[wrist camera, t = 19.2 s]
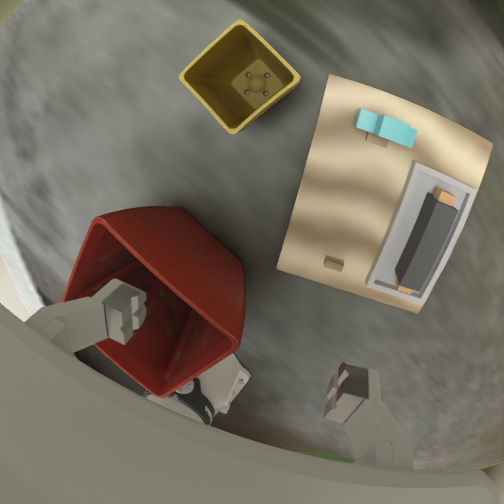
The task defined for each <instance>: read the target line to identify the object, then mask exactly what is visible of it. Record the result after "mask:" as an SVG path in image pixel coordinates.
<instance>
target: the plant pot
mask: <svg viewBox="0 0 504 504" xmlns="http://www.w3.org/2000/svg"><path fill="white" fill-rule="evenodd" d="M112 279H118V280H120V281H122V282H124V283H127V284H129V285H131V286H133V287H135V288H138V289H140V290H142V291H144V292H145V293H146V301H145V302H144V305H145V307H146V317H145V319H144V321H143V324H142V325H141V326H140V327H139V329H135V330H133V336H132V337H131V338H130V339H129V341H128V342H127V343H126V344H125V345H124V344H121V343H119V342H117V341H115V340H113V339H111V338H109V337H108V338H107V339H104V340H102V341H100V342H97V343H95V344H94V345H95V346H96V347H97V348H98V349H99V350H101V351H102V352H103V353H104V354H105V355H106V356H107V357H108V358H109V359H111V360H112V361H113V362H114V363H115V364H116V365H117V366H118V367H120V368H121V369H122V370H123V371H124V372H126V373H127V374H128V375H129V376H130V377H132V378H133V379H134V380H135V381H136V382H138V383H139V384H140V385H141V386H143V387H144V388H145V389H147V390H148V391H149V392H150V393H152V394H153V395H155V396H156V397H159V398H165V397H166V396H168V395H169V394H171V393H173V392H174V391H176V390H177V389H179V388H180V387H182V386H183V385H185V384H186V383H188V382H189V381H191V380H192V379H194V378H196V377H197V376H199V375H200V374H202V373H203V372H205V371H206V370H208V369H209V368H211V367H213V366H214V365H216V364H217V363H219V362H220V361H222V360H223V359H225V358H226V357H228V356H229V355H231V354H232V353H234V352H235V351H237V350H238V348H239V345H240V341H241V337H242V332H243V326H244V318H245V305H246V289H245V278H244V271H243V267H242V263H241V261H240V260H239V259H238V258H237V257H236V256H235V255H233V254H232V253H231V252H230V251H229V250H228V249H227V248H226V247H225V246H223V245H222V244H221V243H220V242H219V241H218V240H217V239H216V238H214V237H213V236H212V235H211V234H210V233H209V232H208V231H207V230H206V229H205V228H203V227H202V226H201V225H200V224H199V223H198V222H197V221H196V220H195V219H193V218H192V217H191V216H190V215H189V214H188V213H187V212H186V211H185V210H183V209H181V208H176V207H166V206H147V207H137V208H130V209H125V210H120V211H115V212H111V213H107V214H104V215H101V216H98V217H95V218H94V219H93V220H92V222H91V225H90V227H89V229H88V232H87V234H86V237H85V239H84V241H83V244H82V246H81V249H80V251H79V254H78V256H77V259H76V262H75V265H74V267H73V270H72V273H71V276H70V278H69V281H68V284H67V287H66V290H65V292H64V295H63V298H62V301H61V303H63V302H67V301H71V300H76V299H80V298H84V297H90V298H91V297H93V296H94V295H95V294H96V293H97V292H98V291H99V290H101V289H102V288H103V287H104V286H105V285H106V284H107V283H109V282H110V281H111V280H112Z"/></svg>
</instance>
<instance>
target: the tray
mask: <svg viewBox="0 0 504 504" xmlns="http://www.w3.org/2000/svg"><path fill="white" fill-rule="evenodd" d="M436 186H437V187H439V188H441V189H443V190H446V191H448V192H450V193H451V194H452V195H454V196H455V197H456V198H455V200H454V203H453V206H454V207H455V208H456V209H457V210H458V213H457V216H456V218H455V220H454V223H453V225H452V227H451V230H450V232H449V234H448V237H447V239H446V241H445V243H444V245H443V247H442V249H441V252H440V254H439V256H438V258H437V260H436V262H435V264H434V266H433V268H432V270H431V272H430V274H429V276H428V278H427V279H426V281H425V283H424V285H423V287H422V289H421V291H420V292H417V291H414V290H413V291H412V293H411V294H408V293H405V292H402V291H398V290H397V287H396V283H395V281H396V279H397V276H396V273H395V267H396V265H397V263H398V261H399V259H400V257H401V254H402V252H403V250H404V248H405V245H406V243H407V241H408V239H409V236H410V234H411V232H412V229H413V227H414V224H415V222H416V220H417V217H418V215H419V212H420V210H421V207H422V205H423V202H424V199H425V197H426V194H427V192H428V193H431V194H434V192H435V189H436ZM476 193H477V190H475V189H474V188H472V187H471V186H469V185H467V184H465V183H463V182H461V181H459V180H456V179H454V178H452V177H450V176H448V175H446V174H444V173H442V172H440V171H437V170H435V169H433V168H431V167H428V166H426V165H424V164H421V163H419V162H417V161H414V160H413V161H412V164H411V167H410V170H409V173H408V176H407V178H406V181H405V184H404V187H403V190H402V193H401V195H400V198H399V201H398V203H397V206H396V209H395V211H394V214H393V216H392V219H391V221H390V224H389V226H388V229H387V231H386V234H385V236H384V239H383V241H382V243H381V246H380V248H379V250H378V253H377V255H376V257H375V260H374V262H373V264H372V266H371V269H370V271H369V273H368V275H367V277H366V279H365V283H366V287H369V288H372V289H375V290H378V291H381V292H384V293H387V294H391V295H394V296H397V297H400V298H403V299H406V300H409V301H412V302H415V303H419V304H422V305H423V303H424V302H425V300H426V298H427V297H428V295H429V293H430V291H431V290H432V288H433V286H434V284H435V282H436V280H437V279H438V277H439V275H440V273H441V271H442V269H443V267H444V265H445V263H446V261H447V259H448V257H449V255H450V253H451V251H452V249H453V247H454V245H455V243H456V241H457V238H458V236H459V234H460V232H461V229H462V227H463V225H464V223H465V220H466V218H467V216H468V213H469V211H470V208H471V206H472V203H473V201H474V198H475V195H476Z"/></svg>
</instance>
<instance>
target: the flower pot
mask: <svg viewBox="0 0 504 504" xmlns="http://www.w3.org/2000/svg"><path fill="white" fill-rule="evenodd" d="M247 73H250V74H251V76H250V77H247ZM267 73H268V74H269V75H270V76H269V77H268V78H266V77H265V74H267ZM300 78H301V77H300V75H299V74H298V73H297V72H296V71H295V70H294V69H293V68H292V67H291V66H290V65H289V64H288V63H287V62H286V60H285V59H284V58H283V57H282V56H281V55H280V54H278V52H277V51H276V50H275V49H274V48H273V47H272V46H271V45H269V44H268V43H267V42H266V41H265V40H264V39H263V38H262V37H261V36H260V35H259V34H258V33H257V32H256V31H255V30H254V29H253V28H252V27H251V26H249V25H248V24H247V23H246V22H245V21H243V20H238V21H236V22H235V23H233V24H232V25H231V26H230V27H229V28H228V29H226V30H225V31H224V32H223V33H222V34H221V35H220V36H219V37H217V38H216V39H215V40H214V41H213V42H212V43H211V44H210V45H209V46H208V47H207V48H206V49H205V50H203V51H202V52H201V53H200V54H199V55H198V56H197V57H196V58H195V59H194V60H193V61H192V62H191V63H190V64H189V65H188V66H187V67H186V68H185V69H184V70H183V71H182V73H181V74H180V75H179V79H180V80H181V82H182V83H183V84H184V85H185V86H186V87H187V88H188V89H189V90H190V91H191V92H192V93H193V94H194V95H195V96H196V97H197V98H198V99H199V100H200V102H201V103H202V104H203V105H204V106H205V107H206V108H207V109H208V110H209V111H210V113H211V114H212V115H213V116H214V117H215V118H216V119H217V121H218V122H219V123H220V124H221V125H222V126H223V127H224V129H225V130H226V131H227V132H228V133H230V134H232V135H234V134H236V133H238V132H239V131H241V130H243V129H244V128H246V127H248V126H249V125H250V124H251V123H252V122H254V121H255V120H256V119H257V118H258V117H259V116H260V115H262V114H263V113H264V112H265V111H266V110H268V109H269V108H270V107H271V106H272V105H274V104H275V103H276V102H277V101H279V100H280V99H281V98H283V97H284V96H285V95H286V94H288V93H289V92H290V91H292V90H293V89H294V88H296V87H297V86H298V85H299V82H300ZM246 90H249V91H250V93H249V94H246V93H245V91H246ZM264 91H267V92H268V95H264Z"/></svg>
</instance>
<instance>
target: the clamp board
mask: <svg viewBox="0 0 504 504" xmlns="http://www.w3.org/2000/svg"><path fill="white" fill-rule="evenodd" d="M357 109H364V110H367V111H370V112H373V113H376V114H378V115H387V116H389V117H392V118H394V119H397V120H400V121H402V122H405V123H407V124H409V125H410V126H409V127H412V128H414V129H416V130H417V133H416V136H415V140H414V143H413V146H412V148H410V147H408V146H405V145H401V144H399V143H396V142H394V141H391V140H388V139H386V138H383V137H380V136H378V135H376V134H374V133H371V132H368V131H365V130H363V129H360V128H357V127H355V126H353V123H354V120H355V116H356V112H357ZM492 146H493V143H491V142H489V141H488V140H486V139H484V138H482V137H481V136H479V135H477V134H475V133H474V132H472V131H470V130H468V129H466V128H464V127H462V126H461V125H459V124H457V123H455V122H453V121H451V120H449V119H447V118H445V117H443V116H441V115H438V114H436V113H434V112H432V111H430V110H428V109H425V108H423V107H421V106H419V105H416V104H414V103H412V102H409V101H407V100H404V99H402V98H399V97H397V96H394V95H392V94H389V93H386V92H384V91H381V90H378V89H375V88H372V87H369V86H366V85H363V84H360V83H357V82H354V81H351V80H348V79H344V78H341V77H338V76H334V75H331V74H329V78H328V82H327V86H326V90H325V94H324V97H323V101H322V105H321V109H320V113H319V117H318V121H317V125H316V128H315V132H314V136H313V140H312V144H311V147H310V151H309V155H308V158H307V162H306V166H305V169H304V173H303V177H302V180H301V184H300V188H299V191H298V195H297V198H296V202H295V205H294V209H293V212H292V216H291V219H290V223H289V226H288V230H287V233H286V237H285V240H284V243H283V247H282V250H281V254H280V257H279V260H278V264H277V267H276V269H278V270H281V271H285V272H288V273H291V274H294V275H297V276H300V277H303V278H306V279H310V280H313V281H316V282H319V283H322V284H325V285H328V286H332V287H335V288H338V289H341V290H344V291H347V292H351V293H354V294H357V295H360V296H363V297H366V298H370V299H373V300H376V301H379V302H382V303H386V304H389V305H392V306H395V307H398V308H402V309H405V310H408V311H411V312H415V313H419V311H420V309H421V308H422V306H423V305H422V304H419V303H415V302H412V301H409V300H406V299H403V298H400V297H397V296H394V295H391V294H387V293H384V292H381V291H378V290H375V289H372V288H369V287H366V283H365V279H366V277H367V275H368V273H369V271H370V269H371V266H372V264H373V262H374V260H375V257H376V255H377V253H378V250H379V248H380V246H381V243H382V241H383V239H384V236H385V234H386V231H387V229H388V226H389V224H390V221H391V219H392V216H393V214H394V211H395V209H396V206H397V203H398V201H399V198H400V195H401V193H402V190H403V187H404V184H405V181H406V178H407V176H408V173H409V170H410V167H411V164H412V161H413V160H414V161H417V162H419V163H421V164H424V165H426V166H428V167H431V168H433V169H435V170H437V171H440V172H442V173H444V174H446V175H448V176H450V177H452V178H454V179H456V180H459V181H461V182H463V183H465V184H467V185H469V186H471V187H472V188H474V189H475V190H477V192H478V189H479V186H480V183H481V181H482V178H483V175H484V172H485V169H486V166H487V163H488V160H489V156H490V153H491V150H492ZM476 194H477V193H476ZM475 197H476V195H475ZM474 200H475V198H474ZM473 202H474V201H473ZM472 205H473V203H472ZM471 207H472V206H471ZM470 210H471V208H470ZM469 212H470V211H469ZM468 214H469V213H468ZM467 217H468V216H467ZM466 219H467V218H466ZM465 222H466V220H465ZM464 224H465V223H464ZM463 226H464V225H463ZM462 229H463V227H462ZM462 229H461V231H462ZM460 233H461V232H460ZM459 235H460V234H459ZM458 237H459V236H458ZM457 240H458V238H457ZM456 242H457V241H456ZM455 244H456V243H455ZM454 246H455V245H454ZM453 248H454V247H453ZM452 250H453V249H452ZM451 252H452V251H451ZM450 254H451V253H450ZM449 256H450V255H449ZM448 258H449V257H448ZM447 260H448V259H447ZM446 262H447V261H446ZM445 264H446V263H445ZM444 266H445V265H444ZM443 268H444V267H443ZM442 270H443V269H442ZM441 272H442V271H441ZM440 274H441V273H440ZM439 276H440V275H439ZM438 278H439V277H438ZM437 280H438V279H437ZM437 280H436V281H437ZM435 283H436V282H435ZM434 285H435V284H434ZM433 287H434V286H433ZM432 289H433V288H432ZM430 292H431V291H430ZM429 294H430V293H429ZM428 296H429V295H428ZM427 298H428V297H427ZM427 298H426V299H427ZM425 301H426V300H425ZM424 303H425V302H424ZM424 303H423V304H424Z"/></svg>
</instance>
